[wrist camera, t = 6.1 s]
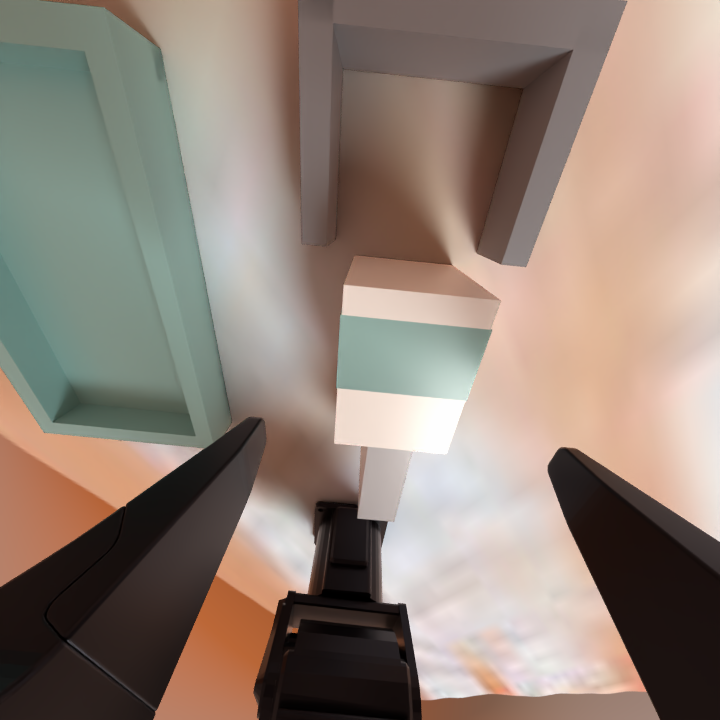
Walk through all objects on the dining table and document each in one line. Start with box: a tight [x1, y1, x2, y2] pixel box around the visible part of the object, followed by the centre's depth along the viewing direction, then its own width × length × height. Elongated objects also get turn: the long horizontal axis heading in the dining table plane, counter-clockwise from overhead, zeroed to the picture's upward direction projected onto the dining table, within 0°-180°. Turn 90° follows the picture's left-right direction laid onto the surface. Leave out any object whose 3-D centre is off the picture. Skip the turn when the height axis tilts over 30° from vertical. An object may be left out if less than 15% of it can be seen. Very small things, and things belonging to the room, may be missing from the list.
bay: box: [298, 0, 627, 267], centre depth 10 cm, size 7×9×3 cm
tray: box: [0, 0, 232, 448], centre depth 14 cm, size 19×11×2 cm, turn 175°
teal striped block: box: [334, 255, 501, 522], centre depth 14 cm, size 12×5×6 cm, turn 175°
